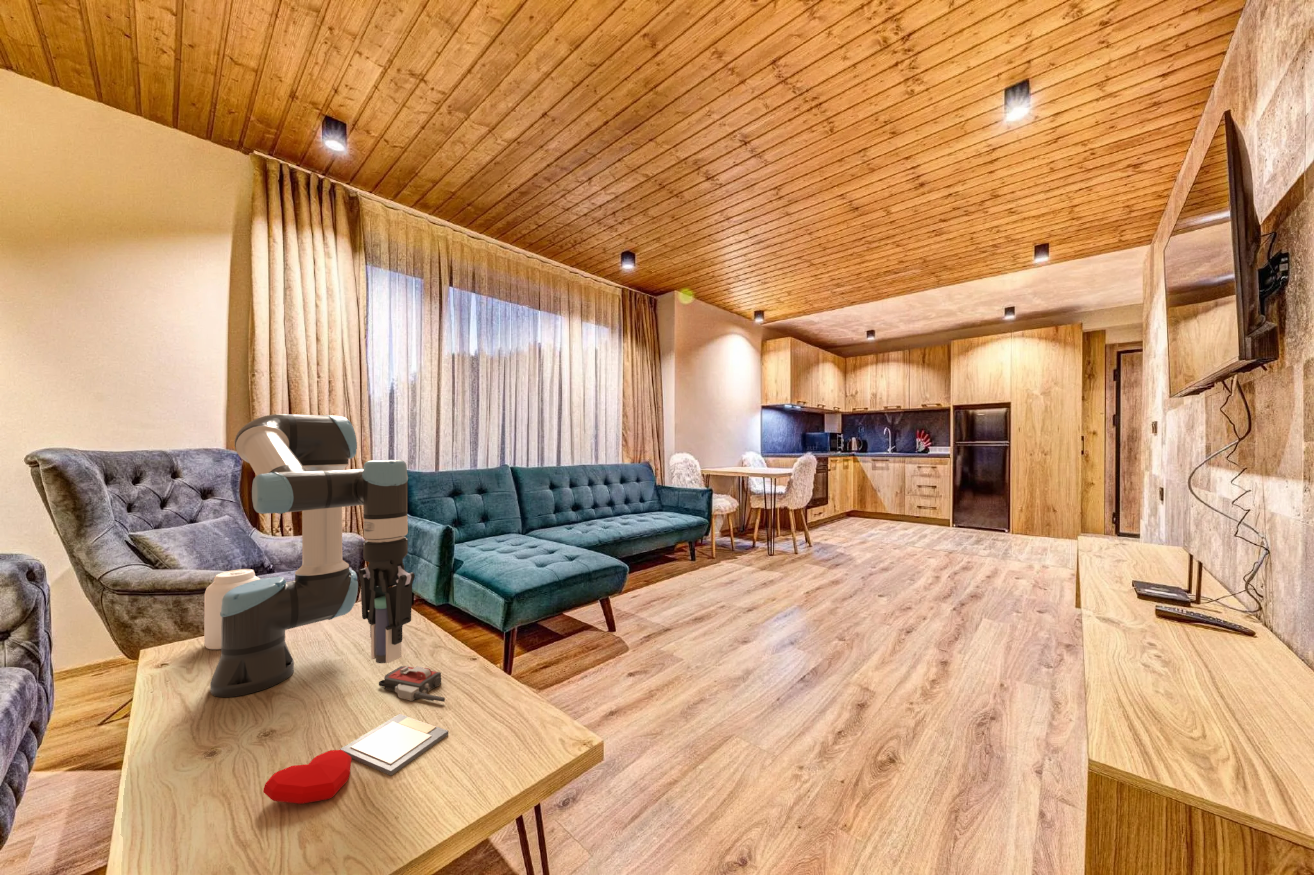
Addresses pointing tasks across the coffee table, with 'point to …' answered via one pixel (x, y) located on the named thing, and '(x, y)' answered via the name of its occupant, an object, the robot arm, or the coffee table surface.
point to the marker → (381, 628)
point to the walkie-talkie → (412, 682)
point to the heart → (310, 779)
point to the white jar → (214, 602)
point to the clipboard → (394, 743)
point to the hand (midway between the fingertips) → (386, 657)
